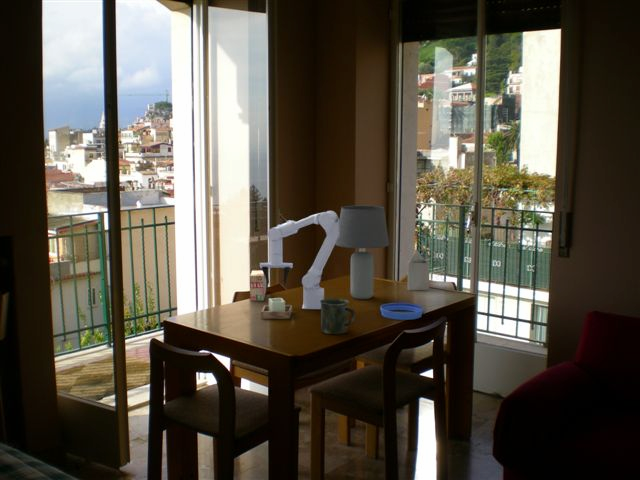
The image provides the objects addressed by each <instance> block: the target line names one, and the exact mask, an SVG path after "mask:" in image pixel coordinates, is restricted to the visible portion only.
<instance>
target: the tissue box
mask: <svg viewBox="0 0 640 480" xmlns="http://www.w3.org/2000/svg"><path fill="white" fill-rule="evenodd" d="M430 264H431V263H430V262H429V261H427V260H426V259H425V257H423V256H422V255H421V253H420V252H419V251H418V250H417V249H416V250H415V251H414V252H413V254H412V256H411V258H410V259H409V261H408V264H407V291H427V290H428V291H429V290H430V275H431V273H430V271H431V269H430V267H431V265H430Z"/></svg>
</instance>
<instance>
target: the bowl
mask: <svg viewBox="0 0 640 480" xmlns="http://www.w3.org/2000/svg"><path fill="white" fill-rule="evenodd" d="M423 311H424V308H423V307H422V306H421V305H418V304H415V303H414V304H413V303H408V302H390V303H385V304H382V305H380V312H381V316H383V317H384V318H386V319H390V320H397V321H398V320H399V321H405V320H406V321H408V320H409V321H411V320H416V319H419V318H421V317H422V314H423Z"/></svg>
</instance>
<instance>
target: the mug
mask: <svg viewBox="0 0 640 480" xmlns="http://www.w3.org/2000/svg"><path fill="white" fill-rule="evenodd" d="M320 303H321V309H320V330H321V332H322V333H324V334H329V335H341V334H343V335H344V334H346V333H347V332H348V327H349V326H351V325H353V323H354V322H355V318H356V313H355V310H354V309H353V308H351V307H348V305H349V303H350V302H349V300H347V299H344V298H338V297H337V298H336V297H329V298H327V297H326V298H324V299H322V300H321V301H320ZM349 312H350V313H351V317H350V322H348V318H349V317H348V315H349V314H348V313H349Z"/></svg>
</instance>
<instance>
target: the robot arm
mask: <svg viewBox="0 0 640 480" xmlns="http://www.w3.org/2000/svg"><path fill="white" fill-rule="evenodd" d="M339 220H340V217H339V216H338V214H337V213H336V212H335V211H334V210H327V211H323V212H319V213H315V214H312V215H309V216H308V217H305V218H302V219H300V220H298V221H295V220H290V219H289V220H286V222H285V223H281V224H277V226H274V227H271V228H270V229H269V230H268V232H267V236H268V239H269V262H259V268H260V269H261V270H262V271H263V273H264V275H265V278H266V285H269V284H270V278H269V270H270V269H269V268H272V269H273V268H275V269H276V268H277V269H278V268H279V269H283V277H284V278H283V284H284V285H286V284H287V278H288V275H289V271H291V269H293V264H294V263H292V262H283V259H284V258H283V238H285V237H289V236H290V235H291V236H292V235H295V234H297V233H298V231H299V230H300V229H301V228H303V227H306V226H309V225H312V224H315V225H320V226H321V227H322V228H323V230H324V231H325V234H326V237H325V238H324V240H323V243H322V245H321V247H320V249H319V251H318V253H317V255H316V256H315V259H314V261H313V263H312V265H311V267H310V269H308V271H307V273H306V274H305V275H304V276H303V277H302V279H301V284H302V286H303V288H302V289H303V290H302V291H303V301H302V302H303V304H302V307H301V309H302V310H321V303H320V301H321V300H322V299H325V288H323V287H320V282H321V281H322V274H323V269H324V268H325V266H326V264H327V261H328V259H329V258H330V256H331V253H332V252H333V249H334V247H335V245H336V241H337V239H338V237H339V235H340V232H339Z"/></svg>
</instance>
